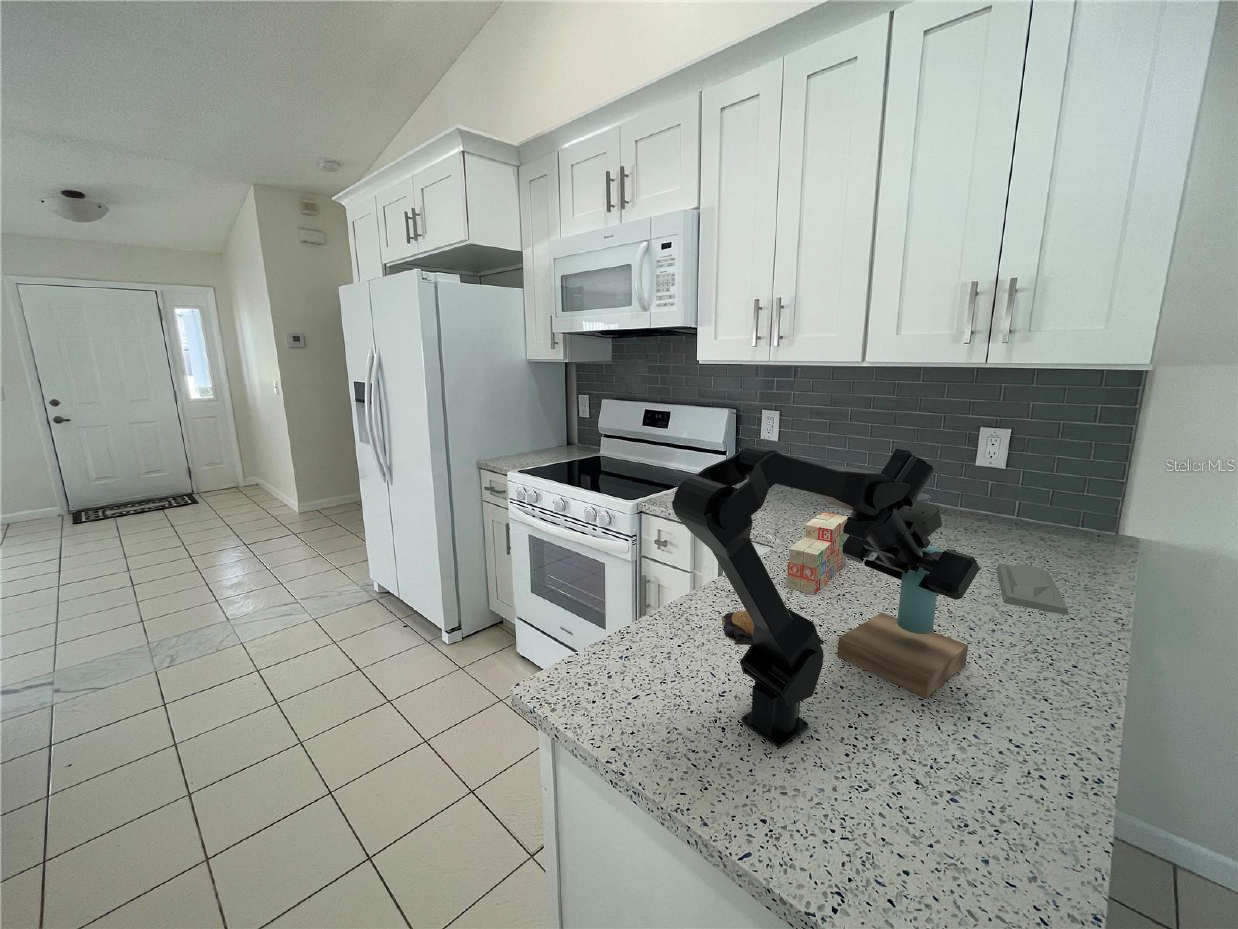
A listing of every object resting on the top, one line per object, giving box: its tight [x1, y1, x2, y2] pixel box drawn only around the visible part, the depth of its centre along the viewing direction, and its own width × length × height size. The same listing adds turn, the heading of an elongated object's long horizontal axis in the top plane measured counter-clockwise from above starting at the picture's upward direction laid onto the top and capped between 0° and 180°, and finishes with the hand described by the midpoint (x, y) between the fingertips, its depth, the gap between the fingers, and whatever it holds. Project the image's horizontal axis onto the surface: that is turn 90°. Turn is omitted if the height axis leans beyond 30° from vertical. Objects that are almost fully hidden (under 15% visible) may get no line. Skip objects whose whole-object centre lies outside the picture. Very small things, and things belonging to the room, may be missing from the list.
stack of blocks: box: [786, 512, 849, 595], centre depth 119 cm, size 21×6×12 cm, turn 141°
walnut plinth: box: [837, 612, 969, 699], centre depth 86 cm, size 14×14×4 cm
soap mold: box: [995, 563, 1069, 616], centre depth 111 cm, size 10×20×4 cm, turn 148°
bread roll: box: [721, 609, 754, 646], centre depth 96 cm, size 11×8×4 cm
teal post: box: [897, 544, 943, 634], centre depth 82 cm, size 5×5×13 cm
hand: (924, 585), depth 83 cm, fingers closed on teal post, 5 cm apart
